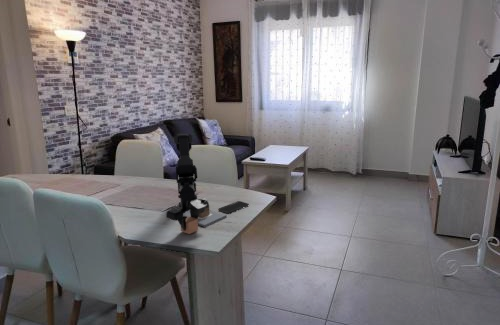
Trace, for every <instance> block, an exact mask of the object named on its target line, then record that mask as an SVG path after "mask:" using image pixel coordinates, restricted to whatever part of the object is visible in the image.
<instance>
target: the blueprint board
mask: <svg viewBox="0 0 500 325" xmlns="http://www.w3.org/2000/svg"><path fill="white" fill-rule="evenodd" d="M209 211H210V215H208V216H206V217H203V218H200V217H198V219H197V220H198V226H201V227H203V228H206V227H208V226H211V225H213V224H215V223H217V222H219V221H222V220H224V219H226V218H227V214H226V213H222V212H219V211H213V210H210V209H209ZM185 216H187V217H189V216H190V217H191V215H190V211H188V212H185Z"/></svg>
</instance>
